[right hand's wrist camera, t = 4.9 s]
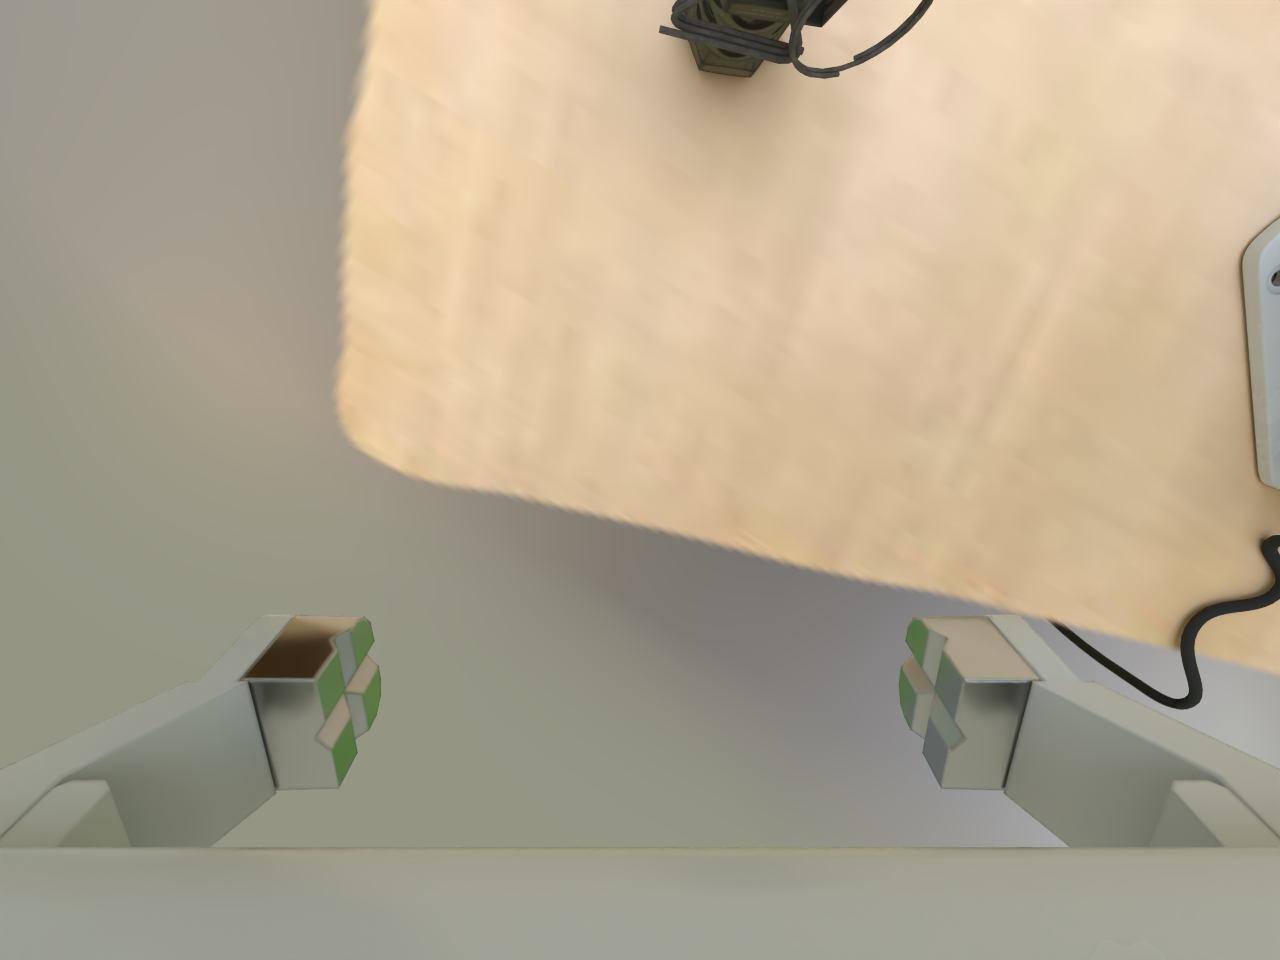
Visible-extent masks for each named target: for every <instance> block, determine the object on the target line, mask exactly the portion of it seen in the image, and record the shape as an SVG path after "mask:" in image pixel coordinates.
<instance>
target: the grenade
mask: <svg viewBox="0 0 1280 960" xmlns="http://www.w3.org/2000/svg"><path fill="white" fill-rule="evenodd" d="M846 1H847V0H677V1H676V2H675V4H674V5H673V7H672V12H673V13H672V15H671V21H672V23H673V24H674V26H675V27H677V28H678V29H680V30H682V31H680V30H676V29H673V28H669V27H665V26H661V25H660V30H659V33H662V34H666V35H670V36H674V37H678V38H681V39H685V40H689V43H690V46H691V49H692V51H693V54H694V57H695V60H696V63H697V65H698V68H699V70H703V71H708V72H713V73H719V74H725V75H733V76H741V77H751V76H752V75H753V74H754V73H755V71H756V70H757V69H758V67H759V66H760V64H761V63H762V62H763V60H767V61H770V62H774V63H778V64H789V63H791V62H792V63H793V65H794V67H795V68H796V69H797V70H798V71H799V72H800V73H802V74H804V75H806V76H808V77H815V78H824V79H825V78H832V77H839V75H840V74H839V71H843V70H846V69H848V68H851V67H854V66H857V65H859V64H862V63H864V62H865V61H867V60H869V59H871V58H873V57H875V56H877V55H878V54H880V53H881V52H883V51H884V50H886V49H887V48H889V47H890V46H892V45H893V44H894V43H895V42H896V41H898V40H899V39H900V38H901V37H902V36H904V35H905V34H906V33H907V32H908V31H910V29H911V28H912V27H913V26H914V25H915V24H916V23H917V22H918V21H919V20H920V19H921V17H922V16H923V15H924V14H925V12H926V11H927V9H928V8H929V7H930V5H931V4H932V2H933V0H922V2H921V3H920V4H919V6H918V7H917V8H916V10H915V11H914V13H913V14H912V15H911V16H910V17H909V18H908V19H907V20H906V21H905V22H904V23H903V24H902V25H901V26H900V27H899V28H897V29H896V30H895V31H894V32H893V33H891V34H890V35H888V36H887V37H886V38H884V39H883V40H882V41H880V42H879V43H878V44H876V45H874V46H873V47H871V48H869V49H867V50H866V51H864V52H862V53H860V54H857V55H855V56H854V61H853V62H850V63H847V64H845V65H842V66H838V67H831V68H825V69H819V68H811V67H807V66H805V65H804V64H802V63H801V62H800V61H799V60H798V57H799V56H800V55H802V54H803V51H804V47H801V46H802V37H801V30H802V28H803V26H804V25H809V26H815V27H822V26H823V25H824V24H825V23H826V22H827V21H828V20H829V19H830V18H831V17H832V16H833V15H834V14H835V13H836V12H837V11H838V10H839V9H840V8H841V7H842V6H843V5H844V4H845V3H846ZM789 24H791V35H790V40H789V43H785V42H782V41H778V40H779V38H780V37H781V35H782V34H783V33H784V31H785V30H786V28H787V27H788V26H789Z"/></svg>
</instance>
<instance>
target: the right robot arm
mask: <svg viewBox="0 0 1280 960" xmlns="http://www.w3.org/2000/svg"><path fill="white" fill-rule="evenodd" d="M1242 271H1243V284H1244V297H1245V310H1246V323H1247V335H1248V348H1249V361H1250V374H1251V387H1252V400H1253V413H1254V426H1255V439H1256V452H1257V463H1258V473H1259V477H1260V480H1261V481H1262V482H1263V483H1264V484H1266V485H1268V486H1271V487H1273V488H1275V489H1278V490H1280V218H1279V219H1277V220H1276V221H1275V222H1274V223H1272V224H1271V225H1270V226H1269V227H1267V228H1266V229H1265V230H1264V231H1263V232H1261V233H1260V234H1259V235H1258V236H1257V237H1256V238H1255V239H1254V240H1253V241H1252V243H1251V244H1250V245H1249V246H1248V248H1247V250H1246V251H1245V254H1244V256H1243V261H1242ZM1276 272H1277V276H1276V278H1275V280H1274V281H1273V282H1271V279H1272V276H1273V275H1274V274H1275V273H1276ZM1278 547H1280V535H1274V536H1271V537H1269V538H1268V539H1266V540H1265V541H1264V543H1263V546H1262V552H1263V555H1264V557H1265V558H1266V560H1267V561H1268V563H1269V564H1270V566H1271V567H1272V569H1273V571H1274V573H1275V576H1276V582H1275V584H1274V586H1273V587H1272V588H1271V589H1270V590H1269V591H1268V592H1267V593H1265V594H1263V595H1261V596H1259V597H1255V598H1251V599H1245V600H1238V601H1230V602H1224V603H1219V604H1215V605H1212V606H1209V607H1207V608H1205V609H1203V610H1201V611H1199V612H1198V613H1197V614H1196V615H1194V616H1193V617H1192V618H1191V619H1190V621H1189V622H1188V624H1187V625H1186V627H1185V629H1184V631H1183V634H1182V637H1181V645H1180V647H1181V657H1182V662H1183V666H1184V670H1185V674H1186V677H1187V681H1188V686H1189V693H1188V695H1187V696H1186V697H1185V698H1181V699H1175V698H1171V697H1169V696H1166V695H1164V694H1162V693H1160V692H1159V691H1157V690H1155V689H1154V688H1152V687H1150V686H1149V685H1147V684H1146V683H1144V682H1143V681H1141V680H1140V679H1138V678H1137V677H1135V676H1134V675H1132V674H1131V673H1129V672H1128V671H1126V670H1125V669H1123V668H1122V667H1120V666H1119V665H1117V664H1116V663H1114V662H1113V661H1111V660H1110V659H1108V658H1107V657H1105V656H1104V655H1103V654H1101V653H1100V652H1099V651H1097V650H1096V649H1095V648H1093V647H1092V646H1090V645H1089V644H1088V643H1086V642H1085V641H1084V640H1083V639H1081V638H1080V637H1079V636H1078V635H1076V634H1075V633H1074V632H1073V631H1071V630H1070V629H1069V628H1068V627H1067V626H1065V625H1064V624H1063V623H1059V622H1057V621H1053V620H1048V621H1049V622H1050V623H1051V624H1052V625H1053V626H1054V627H1055V628H1056V629H1058V630H1059V631H1060V632H1061V633H1062V634H1063V635H1064V636H1066V637H1067V638H1068V639H1069V640H1070V641H1072V642H1073V643H1074V644H1075V645H1076V646H1077V647H1079V648H1080V649H1081V650H1083V651H1084V652H1085V653H1087V654H1088V655H1089V656H1090V657H1092V658H1093V659H1095V660H1096V661H1097V662H1098V663H1100V664H1101V665H1103V666H1104V667H1106V668H1107V669H1108V670H1110V671H1111V672H1113V673H1114V674H1116V675H1117V676H1119V677H1120V678H1121V679H1123V680H1124V681H1126V682H1127V683H1129V684H1130V685H1132V686H1133V687H1135V688H1136V689H1137V690H1139V691H1140V692H1142V693H1143V694H1145V695H1146V696H1148V697H1149V698H1151V699H1153V700H1154V701H1156V702H1158V703H1160V704H1162V705H1164V706H1167V707H1170V708H1174V709H1181V710H1182V709H1189V708H1192V707H1194V706H1195V705H1197V704H1198V703H1199V702H1200V700H1201V698H1202V691H1203V689H1202V682H1201V678H1200V675H1199V671H1198V667H1197V664H1196V659H1195V651H1194V645H1195V638H1196V636H1197V633H1198V631H1199V630H1200V628H1201V627H1202V626H1203V625H1204V624H1205V623H1206V622H1207V621H1208V620H1210V619H1212V618H1214V617H1217V616H1219V615H1224V614H1229V613H1235V612H1243V611H1250V610H1255V609H1260V608H1263V607H1266V606H1268V605H1271V604H1273V603H1274V602H1276V601H1277V600H1279V599H1280V554H1279V552H1278V550H1277V549H1278ZM373 643H374V637H373V632H372V627H371V622H370V621H369V620H368V619H367V618H366V617H365V616H325V615H299V616H298V615H265V616H261V617H258V618H257V619H256V620H255V621H254V622H253V623H252V624H251V625H250V626H249V627H248V629H247V630H246V631H245V632H244V633H243V634H242V635H241V636H240V637H239V638H238V639H237V640H236V641H235V642H234V643H233V644H232V645H231V647H230V648H229V649H228V650H227V651H226V652H225V653H224V654H223V655H222V656H221V657H220V658H219V659H218V660H217V661H216V662H215V663H214V665H213V666H212V667H211V668H210V669H209V670H208V671H207V672H206V673H205V674H204V675H203V676H202V677H201V678H200V679H199V680H198V681H186V682H184V683H182V684H180V685H177V686H175V687H173V688H171V689H169V690H167V691H165V692H163V693H160V694H158V695H156V696H154V697H152V698H150V699H148V700H146V701H144V702H141V703H139V704H137V705H135V706H133V707H131V708H129V709H126V710H124V711H122V712H120V713H118V714H116V715H114V716H112V717H109V718H107V719H105V720H103V721H101V722H99V723H97V724H95V725H92V726H90V727H88V728H86V729H84V730H82V731H80V732H78V733H75V734H73V735H71V736H69V737H67V738H65V739H63V740H61V741H58V742H56V743H54V744H52V745H50V746H48V747H46V748H44V749H42V750H39V751H37V752H35V753H33V754H31V755H29V756H27V757H24V758H22V759H20V760H18V761H16V762H14V763H12V764H10V765H7V766H5V767H3V768H1V769H0V960H1280V769H1278V768H1276V767H1274V766H1272V765H1270V764H1268V763H1266V762H1264V761H1261V760H1259V759H1257V758H1255V757H1253V756H1251V755H1249V754H1247V753H1244V752H1242V751H1240V750H1238V749H1236V748H1234V747H1232V746H1230V745H1228V744H1225V743H1223V742H1221V741H1219V740H1217V739H1215V738H1213V737H1211V736H1208V735H1206V734H1204V733H1202V732H1200V731H1198V730H1196V729H1194V728H1192V727H1189V726H1187V725H1185V724H1183V723H1181V722H1179V721H1177V720H1175V719H1172V718H1170V717H1168V716H1166V715H1164V714H1162V713H1160V712H1158V711H1156V710H1153V709H1151V708H1149V707H1147V706H1145V705H1143V704H1141V703H1138V702H1136V701H1134V700H1132V699H1130V698H1128V697H1126V696H1124V695H1122V694H1119V693H1117V692H1115V691H1113V690H1111V689H1109V688H1107V687H1105V686H1103V685H1100V684H1098V683H1096V682H1094V681H1082V680H1081V679H1080V678H1079V677H1078V676H1077V675H1076V674H1075V673H1074V672H1073V671H1072V670H1071V669H1070V668H1069V667H1068V666H1067V664H1066V663H1065V662H1064V661H1063V660H1062V659H1061V658H1060V657H1059V656H1058V655H1057V654H1056V653H1055V652H1054V651H1053V650H1052V649H1051V647H1050V646H1049V645H1048V644H1047V643H1046V642H1045V641H1044V640H1043V639H1042V638H1041V637H1040V636H1039V635H1038V634H1037V633H1036V632H1035V631H1034V629H1033V628H1032V627H1031V626H1030V625H1029V624H1028V623H1027V622H1026V621H1025V620H1024V619H1023V618H1021V617H1019V616H1017V615H1014V614H1009V615H981V616H953V617H913V618H912V620H911V622H910V624H909V626H908V630H907V636H906V643H907V644H908V646H909V648H910V649H911V651H912V653H913V655H912V656H911V657H910V658H909V659H908V660H907V661H906V662H905V663H904V664H903V665H902V666H901V672H900V680H899V693H900V704H901V707H902V711H903V714H904V717H905V719H906V721H907V723H908V725H909V727H910V729H911V730H912V731H913V732H915V733H916V734H918V735H919V736H921V737H922V738H923V739H925V742H924V747H923V754H924V756H925V758H926V760H927V762H928V764H929V766H930V768H931V770H932V772H933V773H934V775H935V777H936V779H937V781H938V783H939V785H940V787H941V788H942V789H972V790H1004V794H1005V795H1006V796H1008V797H1009V798H1010V799H1011V800H1013V801H1014V802H1015V803H1016V804H1017V805H1019V806H1020V807H1021V808H1022V809H1024V810H1025V811H1026V812H1027V813H1029V814H1030V815H1031V816H1032V817H1033V818H1035V819H1036V820H1037V821H1038V822H1040V823H1041V824H1042V825H1043V826H1045V827H1046V828H1047V829H1048V830H1050V831H1051V832H1052V833H1053V834H1054V835H1056V836H1057V837H1058V838H1059V839H1061V840H1062V841H1063V842H1064V843H1066V844H1067V845H1068V846H1069V847H211V846H212V845H213V844H215V843H216V842H217V841H218V840H220V839H221V838H222V837H223V836H225V835H226V834H227V833H228V832H229V831H231V830H232V829H233V828H234V827H236V826H237V825H238V824H239V823H241V822H242V821H243V820H244V819H246V818H247V817H248V816H249V815H250V814H252V813H253V812H254V811H255V810H257V809H258V808H259V807H260V806H262V805H263V804H264V803H265V802H267V801H268V800H269V799H270V798H271V797H273V796H274V795H275V794H276V790H307V789H338V788H339V787H340V785H341V783H342V781H343V779H344V777H345V775H346V773H347V772H348V770H349V768H350V766H351V764H352V762H353V760H354V758H355V756H356V755H357V747H356V742H355V739H356V738H358V737H359V736H361V735H362V734H364V733H365V732H367V731H368V730H369V729H370V727H371V725H372V723H373V721H374V719H375V717H376V715H377V711H378V706H379V702H380V697H381V678H380V671H379V666H378V665H377V664H376V663H375V662H374V661H373V660H372V659H371V658H370V657H369V656H368V655H367V653H368V651H369V649H370V648H371V646H372V644H373Z"/></svg>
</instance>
